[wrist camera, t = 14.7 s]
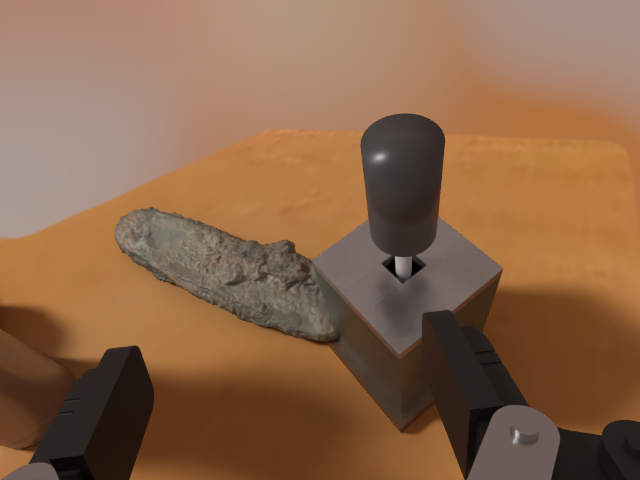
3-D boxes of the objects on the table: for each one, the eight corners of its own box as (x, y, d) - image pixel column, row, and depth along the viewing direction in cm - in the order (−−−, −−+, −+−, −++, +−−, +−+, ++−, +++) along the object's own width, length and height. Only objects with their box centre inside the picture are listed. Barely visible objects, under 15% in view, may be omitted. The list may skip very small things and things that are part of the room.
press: (324, 340, 50) (294, 259, 36) (407, 275, 53) (407, 178, 39) (400, 432, 43) (397, 375, 30) (490, 353, 46) (524, 269, 33)
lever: (372, 331, 46) (344, 142, 25) (405, 304, 47) (404, 102, 26) (402, 364, 44) (399, 186, 23) (437, 335, 45) (463, 141, 24)
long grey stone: (156, 209, 67) (111, 264, 63) (136, 185, 63) (87, 243, 59) (375, 287, 51) (335, 368, 47) (368, 263, 47) (323, 349, 43)
